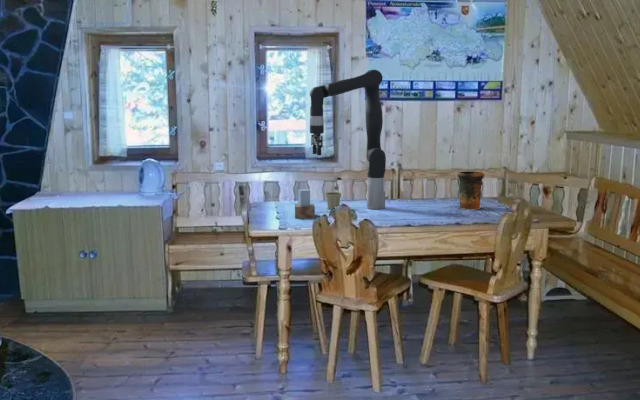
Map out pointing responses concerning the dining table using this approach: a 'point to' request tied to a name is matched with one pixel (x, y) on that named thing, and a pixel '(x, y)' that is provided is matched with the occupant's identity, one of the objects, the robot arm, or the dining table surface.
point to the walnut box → (304, 211)
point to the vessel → (470, 189)
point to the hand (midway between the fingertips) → (316, 154)
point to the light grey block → (304, 197)
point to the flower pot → (333, 199)
